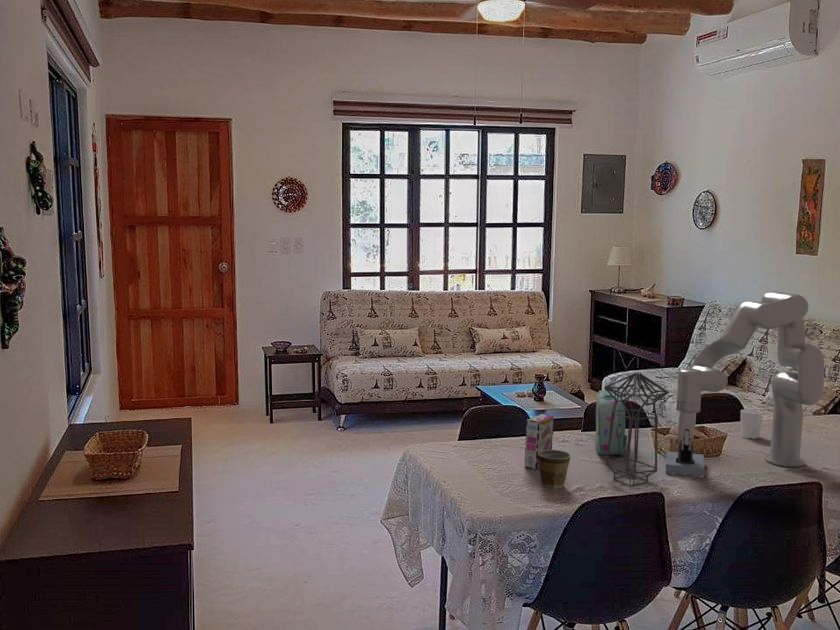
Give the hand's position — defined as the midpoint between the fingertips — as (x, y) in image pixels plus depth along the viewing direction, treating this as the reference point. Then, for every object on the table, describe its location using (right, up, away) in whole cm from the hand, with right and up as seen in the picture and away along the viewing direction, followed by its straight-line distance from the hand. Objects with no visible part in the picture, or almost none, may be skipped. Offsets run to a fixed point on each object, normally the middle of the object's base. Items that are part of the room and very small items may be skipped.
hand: (685, 459), depth 272 cm
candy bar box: (-49, -3, +3) cm, 49 cm away
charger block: (0, -2, 0) cm, 2 cm away
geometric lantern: (-21, -5, -11) cm, 24 cm away
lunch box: (-20, -1, +23) cm, 31 cm away
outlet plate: (+1, -3, +2) cm, 4 cm away
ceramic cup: (-47, -5, -16) cm, 50 cm away
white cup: (+39, +1, +43) cm, 58 cm away
